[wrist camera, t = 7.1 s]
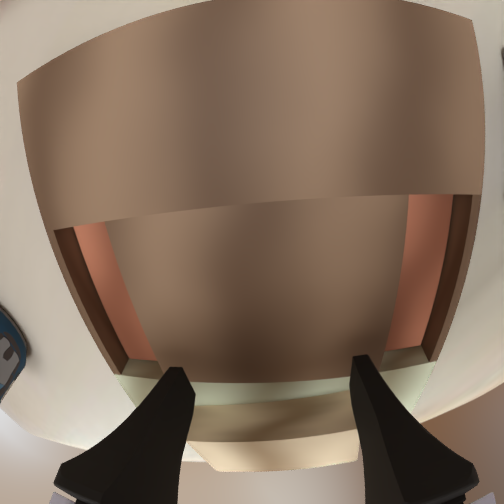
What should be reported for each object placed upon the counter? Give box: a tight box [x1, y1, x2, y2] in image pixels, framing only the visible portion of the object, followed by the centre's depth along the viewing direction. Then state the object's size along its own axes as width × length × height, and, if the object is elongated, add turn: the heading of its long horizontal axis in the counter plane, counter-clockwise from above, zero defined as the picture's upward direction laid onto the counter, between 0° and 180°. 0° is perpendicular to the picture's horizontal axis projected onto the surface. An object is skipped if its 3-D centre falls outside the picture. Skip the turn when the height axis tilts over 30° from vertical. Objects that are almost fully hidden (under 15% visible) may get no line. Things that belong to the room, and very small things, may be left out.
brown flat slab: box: [17, 0, 485, 414], centre depth 12 cm, size 18×24×2 cm
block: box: [186, 390, 360, 472], centre depth 14 cm, size 9×5×2 cm, turn 104°
